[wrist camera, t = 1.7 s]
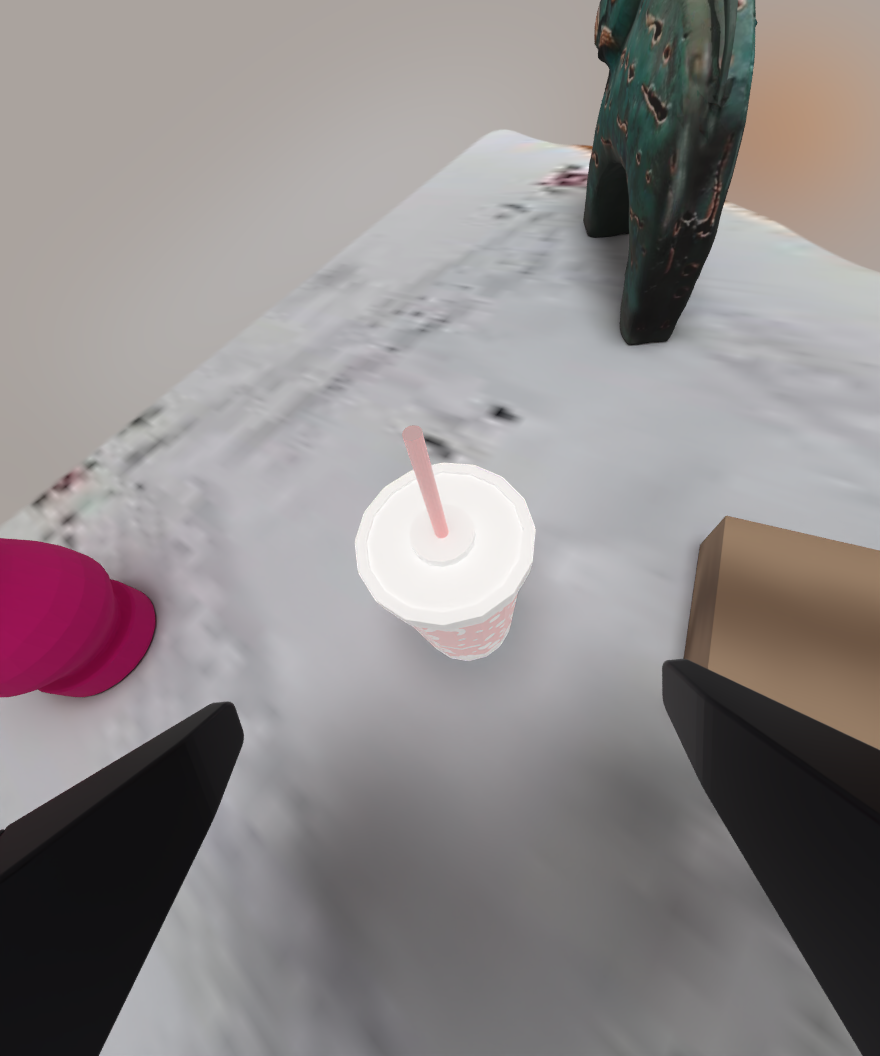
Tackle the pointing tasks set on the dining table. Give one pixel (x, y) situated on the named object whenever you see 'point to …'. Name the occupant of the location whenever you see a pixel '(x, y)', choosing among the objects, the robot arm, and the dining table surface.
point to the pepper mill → (66, 622)
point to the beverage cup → (447, 552)
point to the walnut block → (791, 621)
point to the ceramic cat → (667, 144)
